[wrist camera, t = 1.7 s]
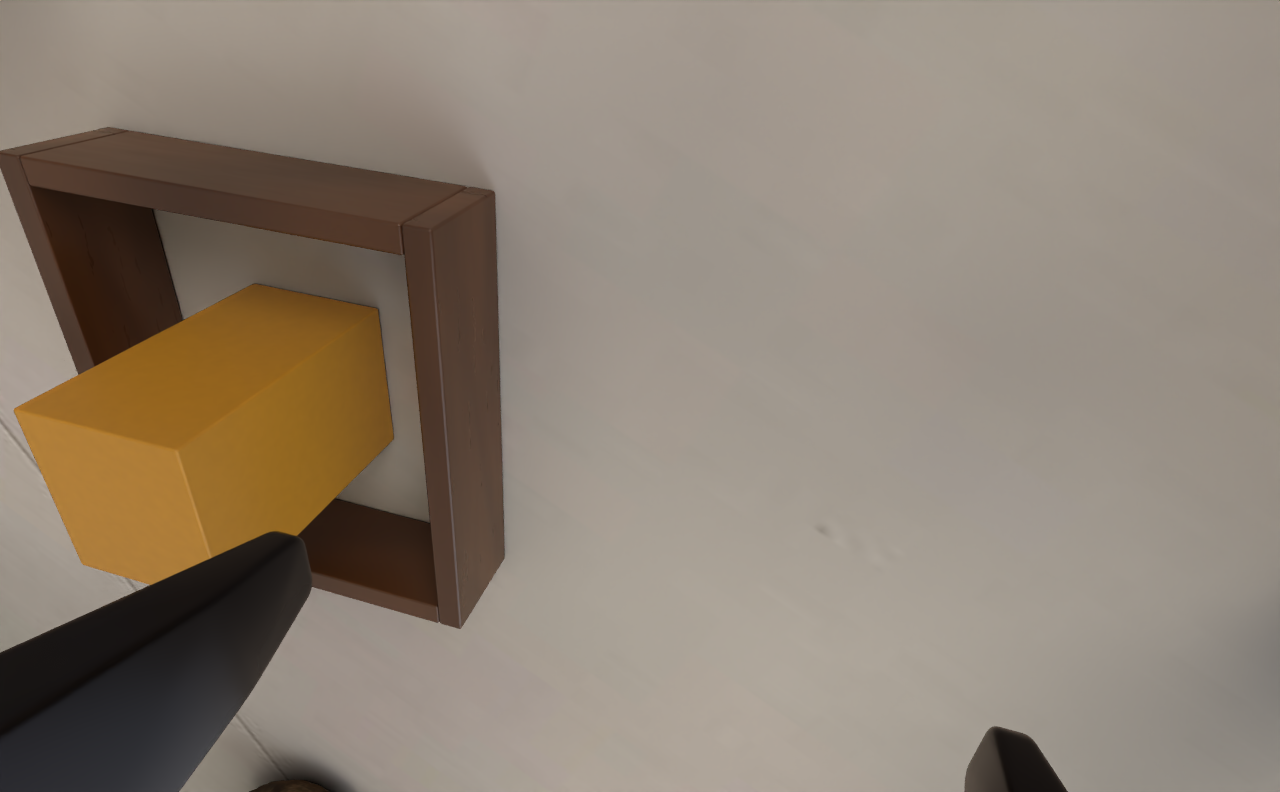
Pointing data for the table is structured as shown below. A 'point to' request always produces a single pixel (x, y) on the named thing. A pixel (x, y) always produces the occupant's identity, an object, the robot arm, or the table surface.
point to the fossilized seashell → (290, 787)
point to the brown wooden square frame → (325, 210)
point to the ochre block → (213, 431)
